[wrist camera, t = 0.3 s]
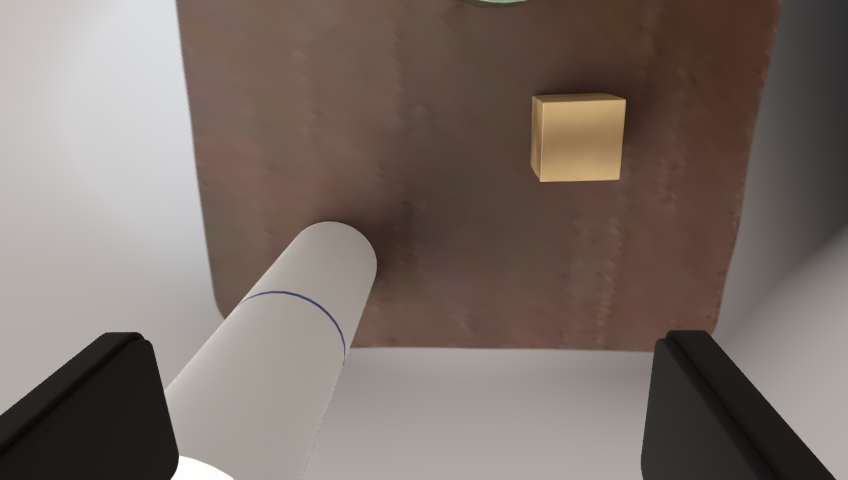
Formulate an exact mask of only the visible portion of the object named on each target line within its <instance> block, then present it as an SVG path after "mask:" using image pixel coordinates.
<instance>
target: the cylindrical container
mask: <svg viewBox="0 0 848 480" xmlns="http://www.w3.org/2000/svg"><path fill="white" fill-rule="evenodd" d="M376 271H377V260H376V256H375V252H374V250H373V248H372V246H371V244H370V243H369V241H368V240H367V239H366V237H365V236H363V235H362V234H361V233H360V232H359V231H357V230H356V229H354V228H353V227H351V226H348V225H346V224H343V223H339V222H327V221H326V222H320V223H316V224H313V225H311V226H309V227H307V228H306V229H304V230H303V231H302V232H301V233H300V234H299V235H298V236H297V237H296V238H295V239H294V240H293V241H292V243H291V244H290V245H289V246H288V247H287V248H286V250H285V251H284V252H283V253H282V254H281V255H280V257H279V258H278V259H277V260H276V261H275V262H274V264H273V265H272V266H271V267H270V268H269V269H268V271H267V272H266V273H265V274H264V275H263V276H262V278H261V279H260V280H259V281H258V282H257V283H256V285H255V286H254V287H253V288H252V289H251V290H250V292H249V293H248V294H247V295H246V296H245V297H244V299H243V300H242V301H241V302H240V303H239V304H238V306H237V307H236V308H235V309H234V310H233V311H232V313H231V314H230V315H229V316H228V317H227V318H226V319H225V321H224V322H223V323H222V324H221V325H220V326H219V328H218V329H217V330H216V331H215V332H214V334H213V335H212V336H211V337H210V338H209V339H208V341H207V342H206V343H205V344H204V345H203V346H202V347H201V349H200V350H199V351H198V352H197V353H196V354H195V356H194V357H193V358H192V359H191V360H190V361H189V363H188V364H187V365H186V366H185V367H184V368H183V370H182V371H181V372H180V373H179V374H178V375H177V377H176V378H175V379H174V380H173V381H172V382H171V384H170V385H169V386H168V387H167V388H166V390H165V391H164V394H165V398H166V402H167V406H168V411H169V415H170V419H171V423H172V427H173V431H174V435H175V439H176V443H177V447H178V451H179V463H178V467H177V470H176V472H175V474H174V476H173V477H172V479H171V480H302V478H303V475H304V472H305V469H306V467H307V464H308V461H309V458H310V456H311V453H312V450H313V447H314V445H315V442H316V439H317V437H318V434H319V431H320V428H321V425H322V423H323V420H324V417H325V414H326V411H327V409H328V406H329V403H330V401H331V398H332V395H333V392H334V389H335V387H336V384H337V381H338V378H339V376H340V373H341V370H342V367H343V365H344V362H345V359H346V357H347V354H348V351H349V348H350V346H351V343H352V340H353V337H354V335H355V332H356V329H357V326H358V324H359V321H360V318H361V315H362V313H363V310H364V307H365V304H366V302H367V299H368V296H369V293H370V291H371V288H372V285H373V282H374V280H375V276H376Z"/></svg>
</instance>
